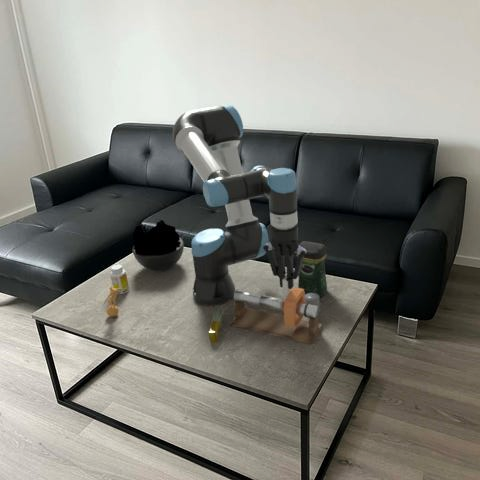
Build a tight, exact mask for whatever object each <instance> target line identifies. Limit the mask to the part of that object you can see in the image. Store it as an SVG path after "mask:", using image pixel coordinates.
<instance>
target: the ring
mask: <svg viewBox="0 0 480 480" xmlns="http://www.w3.org/2000/svg"><path fill="white" fill-rule="evenodd" d="M297 302H300V303H305V292H304V289H301V288H298V287H293V288H292V289H291V292H290V293H289V295H288V296H287V297H286V299H285V302H284V311H283V316H284V323H285V326H286V327H291V328H295V327H297V326H298V324H299V322H300V321H301V320H303V318H304V316H303V315H298V314H296V310H295V307H296V303H297Z"/></svg>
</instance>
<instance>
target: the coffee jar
mask: <svg viewBox="0 0 480 480" xmlns="http://www.w3.org/2000/svg"><path fill="white" fill-rule="evenodd" d="M299 243H300V246H301V247H303V248H307V249H308V251H307V252H306V253H305V255H304V258H303V262H302V266H301V271H300V275H299V276H298V283H297V288H301V289H304V292H305V295H306V294H308V293H316V294H318V295H319V298H320V297H322V296H324V295H325V294H326V292H327V290H328V285H327V284H328V283H327V275H326V266H325V265H326V264H325V263H326V258H327V255H328V254H327V247H326V245H325V244H322V243H317V242H313V241H306V240H303V241H302V242H299ZM297 252H298V250H296V257H298V253H297Z"/></svg>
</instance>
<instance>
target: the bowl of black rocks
mask: <svg viewBox="0 0 480 480" xmlns="http://www.w3.org/2000/svg"><path fill="white" fill-rule="evenodd" d="M176 230H177V228H176V227H175V226H173V225H170V224H167V223H166V222H165V221H164V220H162V219H160V220H159V221H158V222H156V224H155V226H153V227H152V228H150V229H149V230H148V231H147V232H145V233H144V232H142V231H141V226H140V225H136V227H135V228H134V232H133V233H132V238H133V246H132V253H133V256H134V258H135V260H136V261H137V263H139V265H141V266H142V267H144V268H145V269H147V270H151V271H153V272H154V271H155V272H160V271H161V272H162V271H166V270H169V269H170V268H172V267H173V266H175V265H176V264H177V263H179V262H178V261H180V259H181V258H182V255H183V252H184V247H185V244H184V240H183V238H181V237H180V234H179V232H177V231H176Z"/></svg>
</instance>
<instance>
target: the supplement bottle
mask: <svg viewBox="0 0 480 480" xmlns="http://www.w3.org/2000/svg"><path fill="white" fill-rule="evenodd" d="M110 271H111V272H110V274H109V276H110V281H111V284H112V287H113V288H115V289H118V288H121V293H120V290H117V294H116V295H124V294H126V293H128V292H129V291H130V286H129V280H128V277H127V271H126V270H125V269H124V268H123V265H122V264H114V265H112V266H111V268H110Z"/></svg>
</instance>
